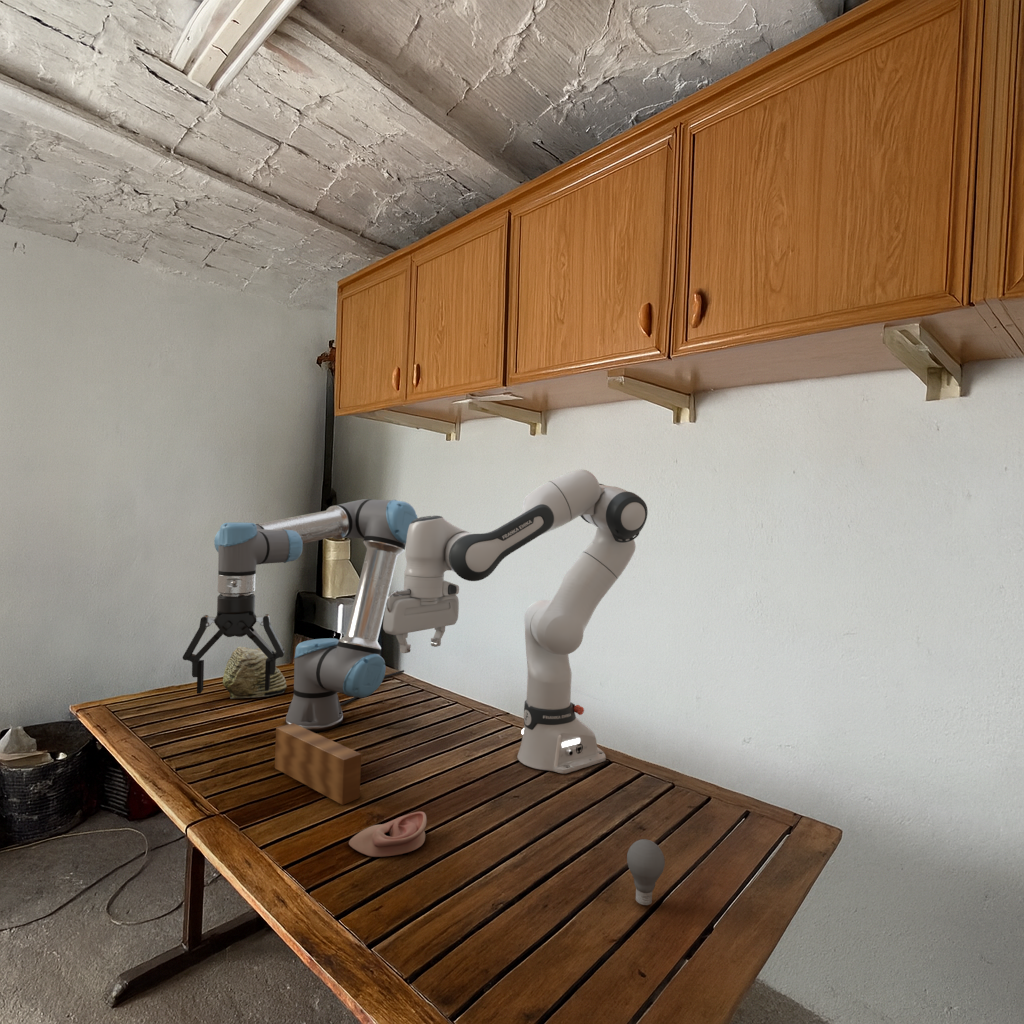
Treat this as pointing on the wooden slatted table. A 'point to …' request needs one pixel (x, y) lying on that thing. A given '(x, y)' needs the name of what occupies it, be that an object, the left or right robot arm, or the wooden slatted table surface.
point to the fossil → (250, 675)
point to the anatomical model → (392, 836)
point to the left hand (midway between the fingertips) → (234, 690)
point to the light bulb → (645, 868)
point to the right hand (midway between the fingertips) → (420, 649)
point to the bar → (318, 763)
